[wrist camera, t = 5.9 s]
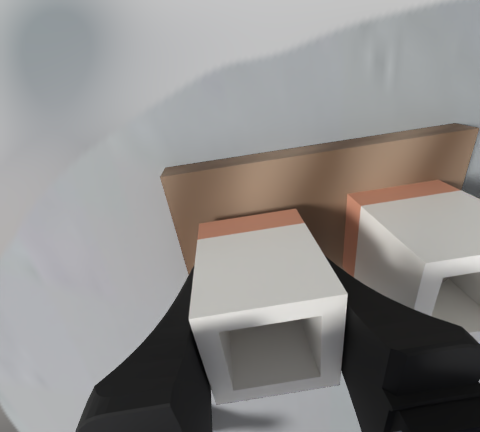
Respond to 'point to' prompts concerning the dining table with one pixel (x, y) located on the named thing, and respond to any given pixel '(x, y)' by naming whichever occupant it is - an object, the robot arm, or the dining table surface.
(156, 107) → the dining table surface
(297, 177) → the pin board
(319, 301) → the sleeve
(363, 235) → the seated sleeve
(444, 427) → the robot arm
